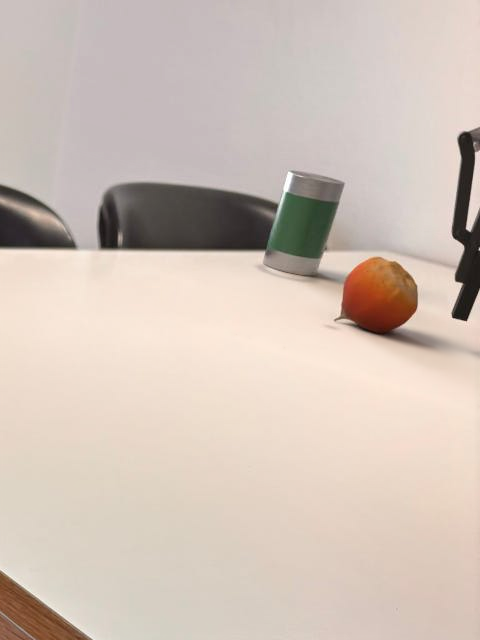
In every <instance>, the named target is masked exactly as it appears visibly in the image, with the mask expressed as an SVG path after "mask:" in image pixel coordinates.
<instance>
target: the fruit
mask: <svg viewBox="0 0 480 640" xmlns="http://www.w3.org/2000/svg"><path fill="white" fill-rule="evenodd" d="M340 306H341V307H340V314H339V316H338V317H335V318H334V319H333V322H336V321H339V320H349V321H351V322H352V323H353V322H354V323H355V324H356V325H358V326H360V327H361V328H363V329H365V330H368V331H370V332H373V333H375V334H385V333H390V332H392V331H394V330H395V329H397V328H400V327H402V326H403V325H405V324H406V323H407V322H408V321H409V320H410V319H411V318H412V317H413V316H414V314H415V313H416V312H417V310H418V307H419V292H418V284H417V283H416V281H415V280H414V277H413V276H412V275H411V274H410V273H409V272H408V271H407V270H406V269H405V268H404V267H403V266H402V265H401V264H400V263H399V262H397V261H396V260H388V259H385V258H383V257H381V256H373V257H369V258H368V259H366V260H363V261H362V262H360V263H359V264H357V265H356V266H355V267H354V268H353V269H352V270H351V271H350V273H349V274H348V275H347V276H346V278H345V279H344V282H343V288H342V300H341V304H340Z"/></svg>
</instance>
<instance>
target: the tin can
mask: <svg viewBox="0 0 480 640" xmlns="http://www.w3.org/2000/svg"><path fill="white" fill-rule="evenodd" d="M345 185H346V182H344V181H342V180H340V179H336V178H333V177H329V176H325V175H320V174H316V173H311V172H306V171H301V170H288V171H287V175H286V179H285V183H284V186H283V189H282V191H281V194H280V198H279V201H278V205H277V209H276V212H275V215H274V220H273V222H272V226H271V230H270V233H269V237H268V240H267V244H266V250H265V252H264V256H263V259H262V264H264V266H267V267H269V268H272V269H274V270H278V271H281V272H284V273H288V274H292V275H297V276H309V277H311V276H316V275H317V274H318V271H319V267H320V264H321V261H322V258H323V256H324V253H325V250H326V247H327V244H328V240H329V238H330V235H331V231H332V228H333V225H334V222H335V219H336V215H337V212H338V209H339V206H340V200H341V198H342V195H343V191H344V188H345Z"/></svg>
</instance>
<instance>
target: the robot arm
mask: <svg viewBox="0 0 480 640" xmlns="http://www.w3.org/2000/svg"><path fill="white" fill-rule="evenodd" d="M456 142H457V145H458V146H457V147H458V150H459V154H460V163H459V169H458V179H457V185H456V191H455V192H456V193H455V200H454V208H453V216H452V225H451V230H450V232H451V236H452V238H453V240H455V241H457V242H458V243H460V244H461V245H462V246H463V251H462V254H461V256H460V259H459V262H458V265H457V267H456V270H455V272H454V282H456V283H460V284H462V285H461V287H460V290H459V292H458V295H457V298H456V300H455V302H454V305H453V307H452V310H451V313H450V314H451V318H452V319H454V320H458V321H463V322H466V323H467V322H468V321H469V317H470V314H471V313H472V311H473V307H474V305H475V302H476V301H477V297H478V295H479V292H480V207H479V209H478V211H477V213H476V216H475V218H474V221H473V224H472V227H471V229H470V230H468V229H467V224H468V219H469V218H468V217H469V211H470V210H469V209H470V203H471V195H472V189H473V180H474V173H475V165H476V153H478V152H479V151H480V126H478V127H475V128H473V129H470V130H463V131H460V132H459V133H458V134H457V136H456Z"/></svg>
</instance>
